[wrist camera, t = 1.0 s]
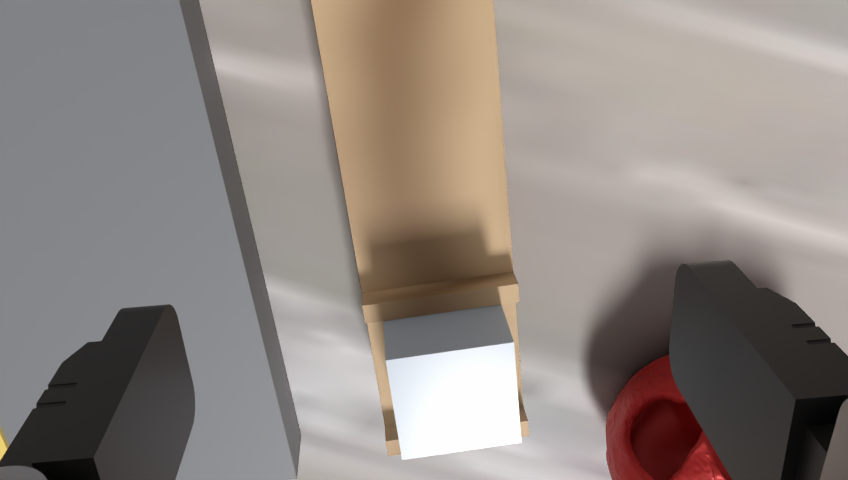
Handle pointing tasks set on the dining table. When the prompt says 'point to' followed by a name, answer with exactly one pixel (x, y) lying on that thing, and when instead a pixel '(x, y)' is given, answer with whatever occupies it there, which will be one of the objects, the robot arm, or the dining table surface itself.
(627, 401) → the pomegranate
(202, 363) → the plate
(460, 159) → the long wooden trough
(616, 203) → the dining table surface
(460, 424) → the pale blue block
